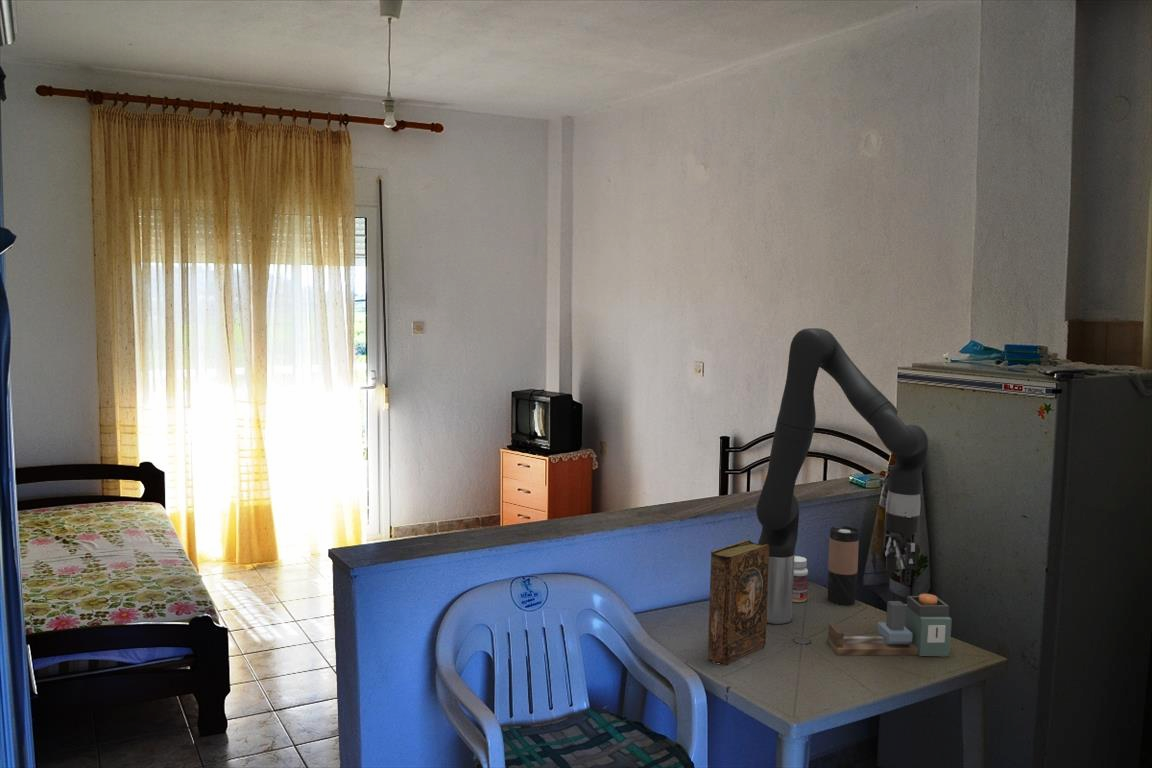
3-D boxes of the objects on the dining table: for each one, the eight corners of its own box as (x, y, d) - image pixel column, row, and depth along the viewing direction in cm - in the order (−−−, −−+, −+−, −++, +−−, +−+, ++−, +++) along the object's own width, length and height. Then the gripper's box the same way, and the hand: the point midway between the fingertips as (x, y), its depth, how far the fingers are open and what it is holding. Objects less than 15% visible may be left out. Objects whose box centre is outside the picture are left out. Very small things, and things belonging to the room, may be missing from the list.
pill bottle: (811, 600, 247) (813, 559, 246) (796, 604, 244) (797, 563, 243) (794, 593, 252) (796, 554, 251) (779, 597, 249) (780, 557, 248)
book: (724, 666, 203) (727, 557, 201) (704, 659, 207) (707, 552, 204) (765, 647, 215) (769, 543, 212) (746, 640, 219) (750, 539, 216)
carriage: (888, 646, 211) (890, 608, 210) (877, 635, 218) (879, 598, 217) (911, 646, 212) (914, 608, 211) (899, 635, 219) (901, 598, 218)
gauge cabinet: (920, 657, 210) (923, 609, 209) (902, 639, 220) (904, 593, 219) (950, 657, 210) (953, 609, 209) (930, 639, 221) (932, 593, 220)
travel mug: (851, 608, 242) (855, 534, 239) (822, 602, 246) (826, 530, 243) (859, 600, 248) (862, 528, 246) (831, 594, 252) (834, 524, 250)
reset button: (923, 607, 212) (923, 599, 212) (915, 601, 216) (916, 593, 216) (939, 607, 213) (940, 599, 212) (932, 601, 217) (932, 593, 216)
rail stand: (837, 655, 210) (838, 634, 210) (826, 642, 218) (827, 621, 218) (918, 654, 211) (919, 634, 211) (903, 641, 219) (904, 621, 219)
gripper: (875, 503, 218) (870, 568, 220) (899, 518, 204) (894, 588, 206) (905, 503, 219) (900, 568, 221) (932, 519, 205) (926, 588, 206)
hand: (897, 578), depth 213 cm, fingers open, 8 cm apart
